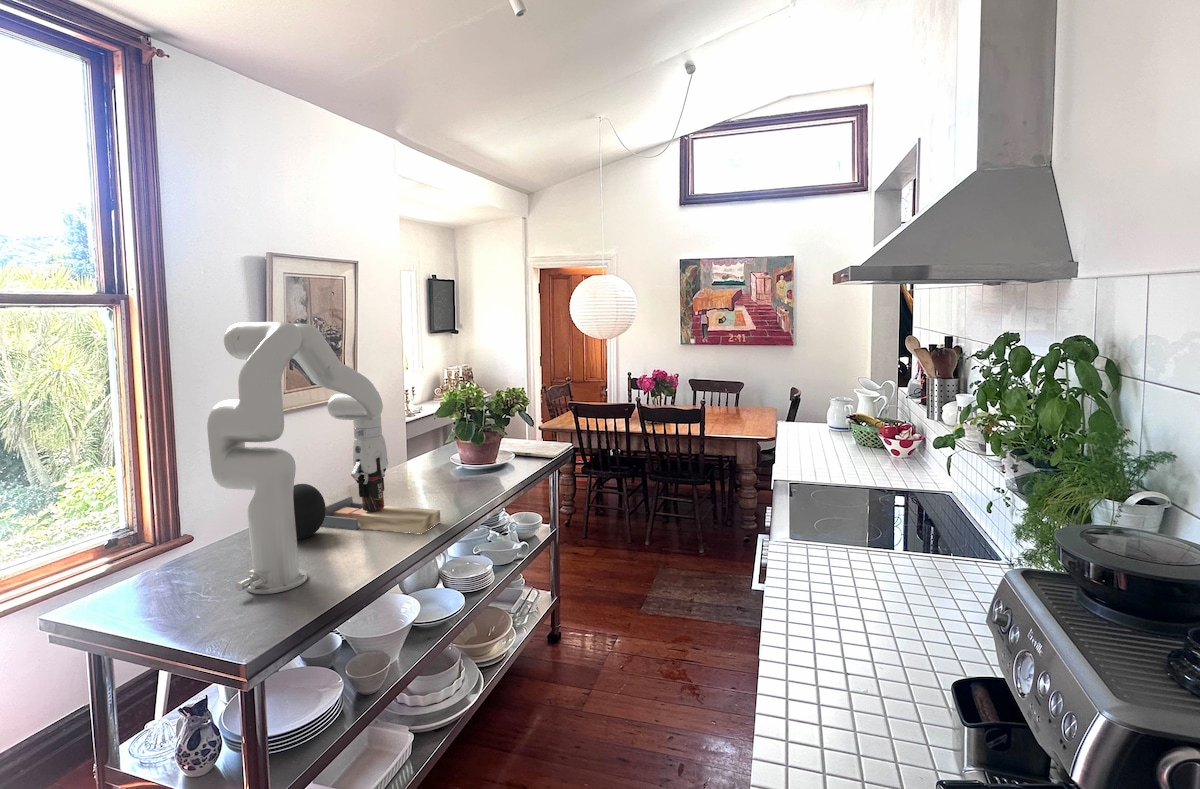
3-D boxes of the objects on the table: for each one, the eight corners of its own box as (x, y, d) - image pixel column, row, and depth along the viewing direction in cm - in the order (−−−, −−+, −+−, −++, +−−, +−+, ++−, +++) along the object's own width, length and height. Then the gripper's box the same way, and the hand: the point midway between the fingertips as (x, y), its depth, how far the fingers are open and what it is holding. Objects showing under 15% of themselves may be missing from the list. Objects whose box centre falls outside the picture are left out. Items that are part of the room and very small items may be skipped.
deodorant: (380, 510, 188) (376, 459, 187) (359, 511, 189) (355, 460, 187) (387, 504, 194) (383, 454, 192) (367, 505, 194) (363, 455, 193)
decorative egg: (277, 534, 184) (273, 482, 182) (325, 527, 190) (321, 476, 188) (279, 548, 174) (274, 493, 172) (330, 539, 179) (325, 486, 177)
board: (421, 534, 182) (420, 520, 181) (360, 528, 188) (359, 515, 187) (440, 523, 191) (439, 510, 191) (382, 517, 197) (381, 505, 197)
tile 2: (365, 523, 191) (364, 514, 191) (351, 521, 193) (350, 513, 192) (376, 517, 196) (376, 509, 195) (363, 516, 197) (362, 508, 197)
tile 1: (333, 512, 194) (334, 520, 194) (347, 513, 192) (347, 521, 192) (345, 507, 199) (346, 515, 199) (359, 508, 197) (359, 516, 197)
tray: (356, 529, 187) (355, 512, 186) (319, 526, 191) (317, 509, 190) (386, 514, 200) (385, 498, 200) (351, 511, 204) (350, 495, 204)
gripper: (359, 439, 179) (363, 503, 182) (397, 428, 196) (400, 487, 198) (336, 437, 182) (341, 501, 184) (375, 427, 198) (379, 485, 200)
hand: (372, 493), depth 191 cm, fingers closed on deodorant, 5 cm apart
